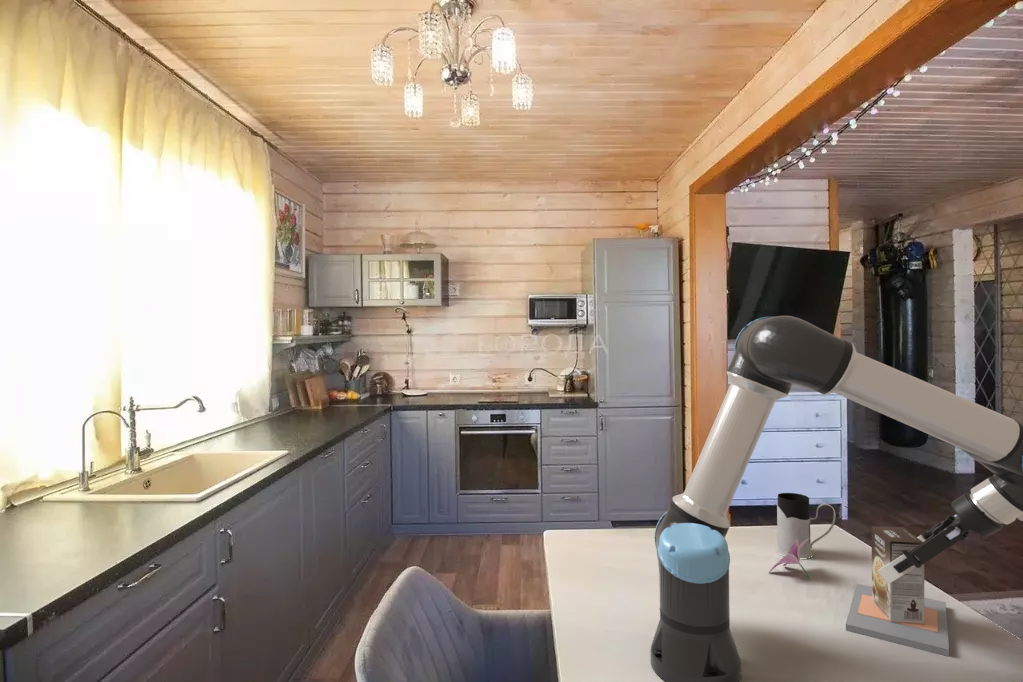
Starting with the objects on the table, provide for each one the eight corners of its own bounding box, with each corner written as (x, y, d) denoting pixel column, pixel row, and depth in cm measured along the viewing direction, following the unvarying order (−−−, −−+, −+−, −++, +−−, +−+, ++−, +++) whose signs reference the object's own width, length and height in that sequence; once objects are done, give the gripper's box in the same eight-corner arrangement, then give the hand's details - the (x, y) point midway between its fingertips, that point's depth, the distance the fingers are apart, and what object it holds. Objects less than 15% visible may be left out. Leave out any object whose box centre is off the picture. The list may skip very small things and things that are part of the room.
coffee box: (870, 600, 120) (869, 525, 120) (904, 603, 118) (903, 526, 118) (890, 622, 111) (889, 540, 111) (927, 625, 109) (926, 542, 109)
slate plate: (949, 656, 101) (948, 648, 101) (845, 630, 111) (845, 623, 111) (945, 607, 119) (945, 601, 119) (856, 588, 128) (856, 582, 128)
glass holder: (774, 545, 156) (773, 491, 155) (832, 551, 151) (831, 495, 151) (777, 557, 147) (776, 499, 147) (839, 563, 143) (838, 504, 142)
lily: (810, 570, 142) (789, 533, 145) (840, 569, 131) (817, 529, 134) (772, 590, 139) (751, 552, 142) (799, 591, 128) (776, 550, 131)
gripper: (997, 544, 94) (892, 604, 105) (1013, 510, 111) (921, 565, 122) (956, 505, 98) (859, 568, 109) (978, 479, 115) (892, 535, 126)
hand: (892, 566), depth 116 cm, fingers open, 13 cm apart
